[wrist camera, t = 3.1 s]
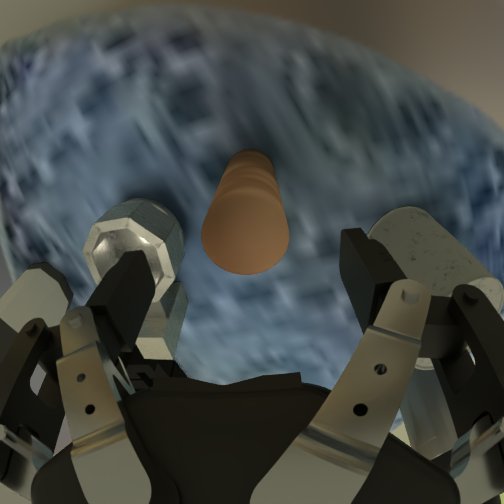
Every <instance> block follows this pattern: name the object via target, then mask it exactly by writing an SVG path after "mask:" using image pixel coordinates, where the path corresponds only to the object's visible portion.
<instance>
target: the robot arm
mask: <svg viewBox="0 0 504 504" xmlns="http://www.w3.org/2000/svg"><path fill="white" fill-rule="evenodd" d="M339 267H340V275H341V279H342V281H343V284H344V286H345V288H346V291H347V293H348V296H349V298H350V301H351V303H352V306H353V308H354V311H355V313H356V316H357V319H358V321H359V324H360V327H361V329H362V332H363V337H362V339H361V341H360V343H359V345H358V347H357V348H356V350H355V352H354V354H353V356H352V357H351V359H350V361H349V363H348V364H347V366H346V368H345V370H344V371H343V373H342V375H341V376H340V378H339V380H338V381H337V383H336V385H335V386H334V388H333V389H332V390H329V389H327V388H325V387H321V386H318V385H314V384H309V383H302V382H301V375H300V372H296V373H287V374H276V375H263V376H259V377H256V378H252V379H248V380H244V381H241V382H237V383H233V384H229V385H217V384H213V383H208V382H203V381H199V380H195V379H191V378H177V377H155V379H154V383H153V387H150V388H146V389H143V390H140V391H138V392H136V391H135V389H134V387H133V385H132V383H131V381H130V379H129V376H128V374H127V372H126V370H125V367H124V365H123V363H122V361H121V359H120V357H119V354H120V352H132V351H133V348H134V345H135V343H136V340H137V338H138V335H139V332H140V330H141V327H142V325H143V322H144V320H145V317H146V315H147V312H148V310H149V307H150V305H151V302H152V300H153V298H154V295H155V290H156V286H155V281H154V278H153V275H152V272H151V269H150V266H149V264H148V261H147V258H146V255H145V253H144V251H143V250H134V251H126V252H124V254H123V255H122V256H121V258H120V259H119V261H118V262H117V264H115V265H114V266H113V267H112V268H111V269H109V270H108V271H107V272H106V274H105V275H104V277H103V278H102V280H101V281H100V283H99V284H98V287H96V289H95V290H94V292H93V294H92V295H91V297H90V298H89V300H88V301H87V303H86V305H85V306H79V307H76V308H73V309H72V310H70V311H68V312H67V313H66V314H65V315H64V316H63V318H62V319H61V321H60V325H56V326H53V327H48V326H47V324H46V323H45V321H44V320H43V319H42V318H34V319H32V320H30V321H28V322H27V323H26V324H25V325H24V326H23V327H22V329H21V330H20V332H19V333H18V335H17V337H16V338H15V340H14V342H13V343H12V345H11V347H10V349H9V350H8V352H7V354H6V356H5V358H4V359H3V361H2V363H1V365H0V486H1V487H3V488H5V489H7V490H9V491H10V492H12V493H15V494H18V495H20V496H22V497H24V498H26V499H28V500H30V501H31V502H32V504H501V500H500V495H499V494H501V493H503V492H504V321H503V319H502V318H501V316H500V315H499V313H498V312H497V310H496V309H495V308H494V306H493V305H492V303H491V302H490V300H489V299H488V298H487V296H486V295H485V294H484V293H483V292H482V291H481V290H480V289H479V288H477V287H475V286H473V285H469V284H460V285H458V286H456V287H455V288H454V290H453V292H452V295H451V297H446V296H434V295H431V293H430V291H429V290H428V288H427V287H426V286H425V285H423V284H422V283H420V282H418V281H415V280H410V279H408V278H407V277H406V275H405V274H404V272H403V271H402V270H401V268H400V267H399V265H398V264H397V262H396V261H395V260H394V258H393V257H392V256H391V254H389V251H388V250H387V249H386V247H385V246H384V245H383V244H382V243H380V242H378V241H377V240H375V239H369V238H368V237H367V236H366V234H365V233H364V231H363V230H362V229H361V228H351V229H342V231H341V242H340V262H339ZM467 346H469V348H470V350H471V352H472V354H473V356H474V358H475V365H474V362H473V361H472V358H471V356H470V354H469V352H468V350H467ZM417 358H430V359H431V362H432V364H433V367H434V369H433V370H421V369H416V368H415V364H416V361H417ZM37 363H38V364H39V365H40V366H41V368H42V369H43V370H44V371H45V372H46V376H45V378H44V381H43V383H42V385H41V388H40V390H39V393H38V395H36V394H35V393H34V392H33V391H32V390H31V387H30V378H31V376H32V374H33V372H34V369H35V368H36V365H37ZM399 408H400V411H401V414H402V418H403V421H404V424H405V428H406V431H407V434H408V438H409V441H410V445H411V447H410V446H408V445H407V444H405V443H404V442H403V441H401V440H400V439H398V438H397V437H396V436H394V435H393V434H391V433H390V432H389V431H390V428H391V426H392V424H393V422H394V420H395V417H396V415H397V413H398V410H399ZM65 414H66V419H67V422H68V426H69V430H70V434H71V438H72V441H73V442H71V443H70V444H69V445H68V446H66V447H65V448H64V449H63V450H61V451H60V452H59V453H58V454H56V455H55V456H54V457H53V454H54V449H55V446H56V442H57V439H58V435H59V432H60V429H61V425H62V422H63V419H64V416H65Z"/></svg>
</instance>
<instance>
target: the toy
mask: <svg viewBox="0 0 504 504" xmlns="http://www.w3.org/2000/svg"><path fill="white" fill-rule="evenodd" d="M119 357H120V359H121V361H122V363H123V365H124V367H125V370H126V372H127V374H128V376H129V379H130V381H131V383H132V385H133V387H134V389H135V391H136V392H138V391H140V390H143V389H146V388H150V387H153V383H154V379H155V377H177V378H188V377H187V376H186V374H185V373H184V372H183V370H181V369H180V368H179V367H178V365H177V364H176V362H174V360H166V359H144V357H143V355H142V354H141V352H140V350H139V348H138V347H137V345H136V346H134V348H133V351H132V352H120V354H119Z"/></svg>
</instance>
